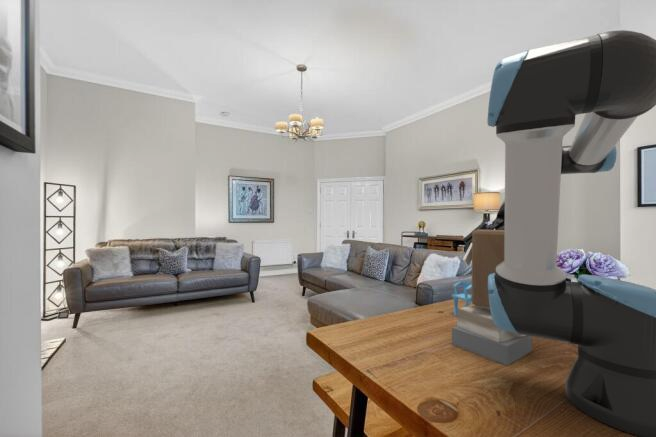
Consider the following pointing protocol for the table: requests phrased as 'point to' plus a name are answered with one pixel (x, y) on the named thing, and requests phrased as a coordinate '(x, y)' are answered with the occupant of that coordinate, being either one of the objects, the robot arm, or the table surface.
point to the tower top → (482, 323)
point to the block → (485, 262)
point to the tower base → (492, 346)
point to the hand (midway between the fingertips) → (489, 266)
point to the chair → (462, 295)
